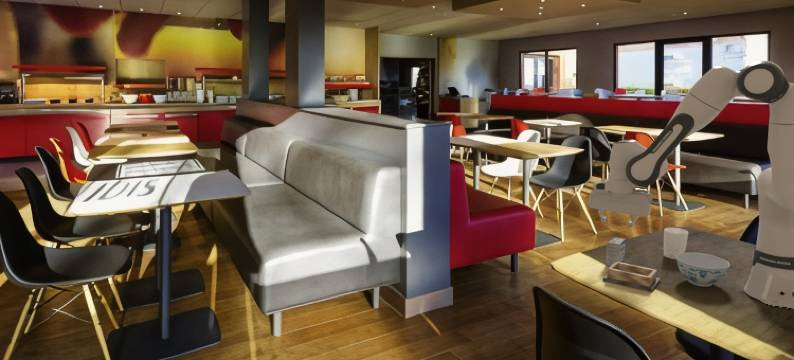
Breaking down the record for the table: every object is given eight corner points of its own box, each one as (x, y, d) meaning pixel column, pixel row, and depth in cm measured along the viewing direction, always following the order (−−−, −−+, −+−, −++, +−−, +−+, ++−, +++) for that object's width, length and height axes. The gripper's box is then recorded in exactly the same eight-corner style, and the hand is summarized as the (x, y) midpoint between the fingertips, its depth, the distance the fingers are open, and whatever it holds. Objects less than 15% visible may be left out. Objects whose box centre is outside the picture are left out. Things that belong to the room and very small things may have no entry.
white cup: (689, 260, 191) (692, 233, 189) (667, 260, 191) (670, 233, 189) (678, 252, 199) (681, 227, 197) (657, 252, 199) (660, 227, 197)
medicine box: (618, 268, 184) (620, 244, 182) (605, 265, 186) (606, 242, 184) (624, 262, 190) (626, 239, 188) (611, 259, 192) (613, 236, 191)
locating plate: (660, 281, 172) (661, 269, 171) (651, 291, 164) (653, 279, 163) (612, 270, 181) (613, 259, 180) (602, 280, 173) (603, 269, 172)
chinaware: (708, 273, 178) (710, 252, 177) (737, 291, 164) (741, 268, 162) (664, 274, 178) (667, 252, 176) (690, 292, 163) (693, 269, 162)
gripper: (655, 189, 178) (650, 228, 181) (594, 180, 191) (591, 217, 194) (650, 192, 174) (646, 232, 176) (588, 183, 186) (585, 221, 189)
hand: (616, 224), depth 185 cm, fingers open, 8 cm apart
